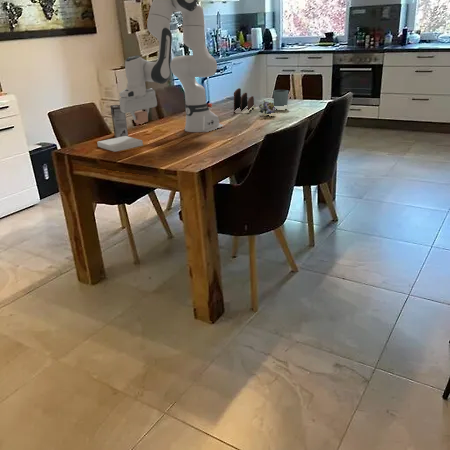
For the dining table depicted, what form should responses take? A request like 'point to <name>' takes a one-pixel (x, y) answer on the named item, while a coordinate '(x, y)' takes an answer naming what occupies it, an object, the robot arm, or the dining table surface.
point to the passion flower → (267, 107)
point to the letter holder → (242, 100)
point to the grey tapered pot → (280, 97)
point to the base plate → (120, 143)
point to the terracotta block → (141, 117)
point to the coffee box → (119, 121)
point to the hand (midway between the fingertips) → (140, 118)
